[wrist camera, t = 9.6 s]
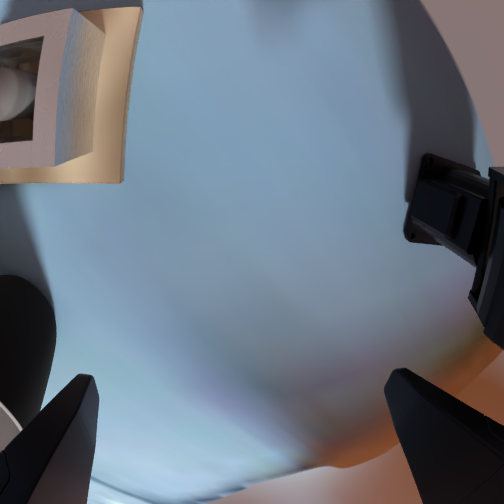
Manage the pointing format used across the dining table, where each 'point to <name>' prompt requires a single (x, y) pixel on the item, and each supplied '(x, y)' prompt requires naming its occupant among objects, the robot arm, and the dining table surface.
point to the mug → (23, 354)
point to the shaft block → (106, 114)
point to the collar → (53, 87)
